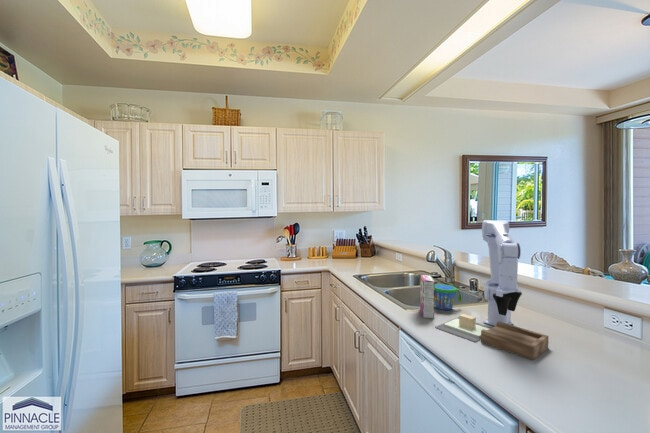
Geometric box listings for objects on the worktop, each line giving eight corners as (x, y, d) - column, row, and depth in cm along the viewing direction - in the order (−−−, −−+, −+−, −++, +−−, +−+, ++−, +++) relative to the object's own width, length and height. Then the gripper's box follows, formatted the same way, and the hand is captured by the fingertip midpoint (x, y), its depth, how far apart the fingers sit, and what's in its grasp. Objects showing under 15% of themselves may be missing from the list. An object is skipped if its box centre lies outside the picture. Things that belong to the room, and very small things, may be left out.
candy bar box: (419, 309, 141) (420, 274, 140) (430, 310, 140) (431, 275, 139) (422, 318, 130) (423, 280, 129) (434, 319, 129) (435, 281, 128)
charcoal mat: (458, 317, 130) (458, 317, 130) (497, 330, 117) (497, 329, 117) (434, 327, 119) (434, 326, 119) (475, 342, 106) (475, 341, 106)
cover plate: (456, 320, 127) (457, 309, 126) (491, 331, 115) (492, 319, 115) (443, 325, 120) (443, 313, 120) (479, 338, 109) (479, 325, 109)
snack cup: (458, 305, 147) (458, 284, 147) (464, 312, 137) (465, 290, 136) (424, 303, 150) (425, 283, 149) (428, 310, 139) (429, 288, 139)
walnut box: (498, 332, 115) (498, 321, 115) (548, 347, 103) (548, 335, 103) (480, 341, 107) (481, 330, 107) (532, 360, 94) (533, 347, 94)
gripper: (511, 280, 102) (510, 320, 103) (528, 275, 111) (527, 311, 111) (490, 276, 108) (489, 314, 108) (507, 271, 117) (506, 306, 117)
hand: (506, 312), depth 110 cm, fingers open, 7 cm apart
